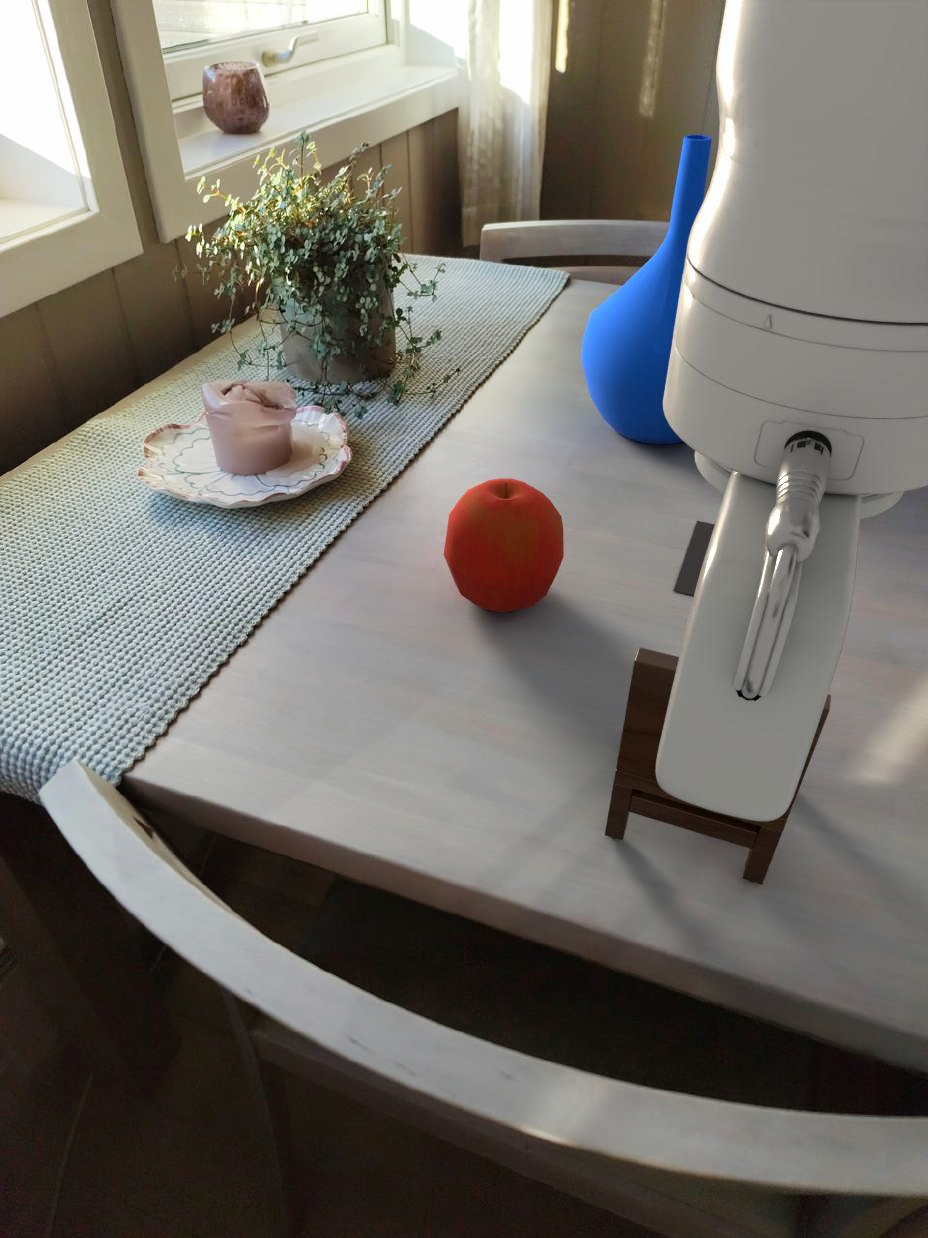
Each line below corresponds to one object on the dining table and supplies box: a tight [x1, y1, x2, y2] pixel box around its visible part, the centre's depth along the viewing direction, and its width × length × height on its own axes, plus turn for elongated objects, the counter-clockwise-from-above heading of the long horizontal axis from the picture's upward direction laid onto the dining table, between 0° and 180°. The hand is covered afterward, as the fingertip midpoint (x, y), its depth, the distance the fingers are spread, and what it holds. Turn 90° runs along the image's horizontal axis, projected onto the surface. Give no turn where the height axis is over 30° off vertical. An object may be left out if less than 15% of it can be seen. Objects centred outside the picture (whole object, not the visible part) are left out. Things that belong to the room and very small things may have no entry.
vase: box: [580, 134, 713, 445], centre depth 91 cm, size 18×18×30 cm
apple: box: [443, 477, 565, 613], centre depth 73 cm, size 10×10×12 cm
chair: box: [604, 646, 832, 885], centre depth 54 cm, size 10×10×16 cm
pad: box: [672, 520, 715, 597], centre depth 79 cm, size 12×12×1 cm
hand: (730, 703), depth 34 cm, fingers open, 3 cm apart
